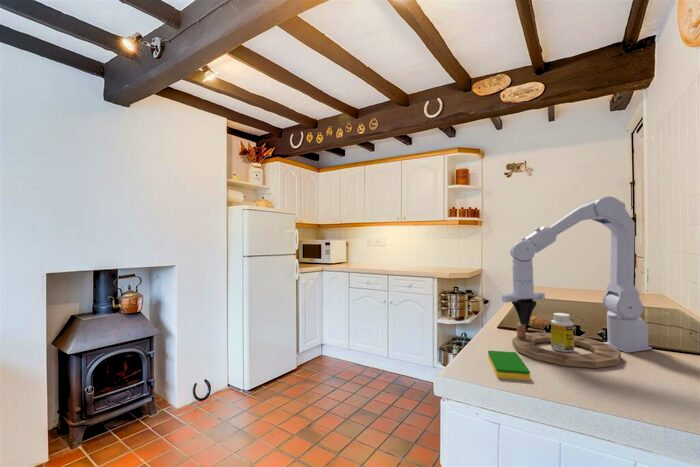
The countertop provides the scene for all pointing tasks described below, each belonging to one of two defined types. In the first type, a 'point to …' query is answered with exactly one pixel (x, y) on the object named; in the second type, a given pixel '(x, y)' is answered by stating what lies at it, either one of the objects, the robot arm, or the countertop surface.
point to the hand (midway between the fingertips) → (524, 323)
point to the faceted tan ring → (599, 358)
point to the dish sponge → (508, 365)
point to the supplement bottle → (562, 333)
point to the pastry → (538, 322)
